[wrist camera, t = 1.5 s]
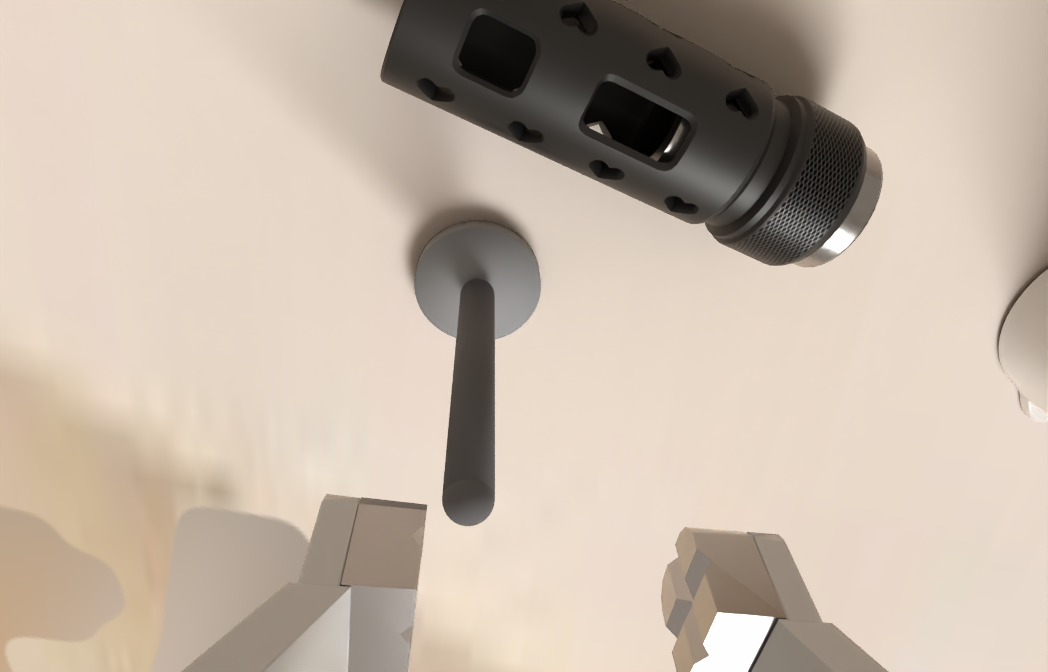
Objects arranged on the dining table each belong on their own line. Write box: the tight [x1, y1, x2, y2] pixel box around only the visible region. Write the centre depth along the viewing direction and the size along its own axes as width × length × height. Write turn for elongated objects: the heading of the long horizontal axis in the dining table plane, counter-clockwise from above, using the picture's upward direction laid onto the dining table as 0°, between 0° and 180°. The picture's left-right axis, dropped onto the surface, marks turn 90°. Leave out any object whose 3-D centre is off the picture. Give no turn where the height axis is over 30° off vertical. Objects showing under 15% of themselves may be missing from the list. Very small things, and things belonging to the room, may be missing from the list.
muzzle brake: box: [381, 0, 883, 267], centre depth 41 cm, size 10×28×10 cm, turn 65°
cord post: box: [415, 221, 541, 526], centre depth 42 cm, size 9×9×24 cm
